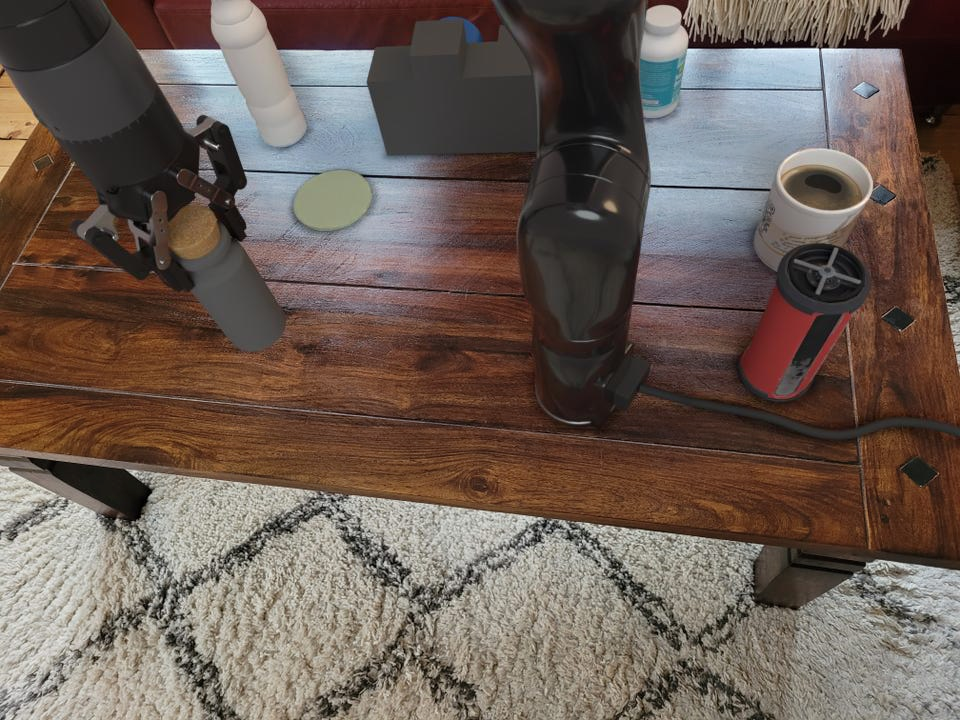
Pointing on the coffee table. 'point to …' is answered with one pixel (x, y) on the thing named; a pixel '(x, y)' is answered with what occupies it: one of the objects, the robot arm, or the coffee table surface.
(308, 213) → the coaster
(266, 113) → the water bottle
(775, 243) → the mug
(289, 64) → the coffee table surface
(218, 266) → the bottle
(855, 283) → the speaker
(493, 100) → the camera
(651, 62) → the pill bottle
